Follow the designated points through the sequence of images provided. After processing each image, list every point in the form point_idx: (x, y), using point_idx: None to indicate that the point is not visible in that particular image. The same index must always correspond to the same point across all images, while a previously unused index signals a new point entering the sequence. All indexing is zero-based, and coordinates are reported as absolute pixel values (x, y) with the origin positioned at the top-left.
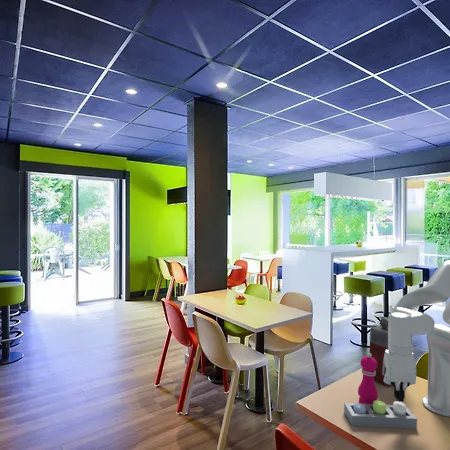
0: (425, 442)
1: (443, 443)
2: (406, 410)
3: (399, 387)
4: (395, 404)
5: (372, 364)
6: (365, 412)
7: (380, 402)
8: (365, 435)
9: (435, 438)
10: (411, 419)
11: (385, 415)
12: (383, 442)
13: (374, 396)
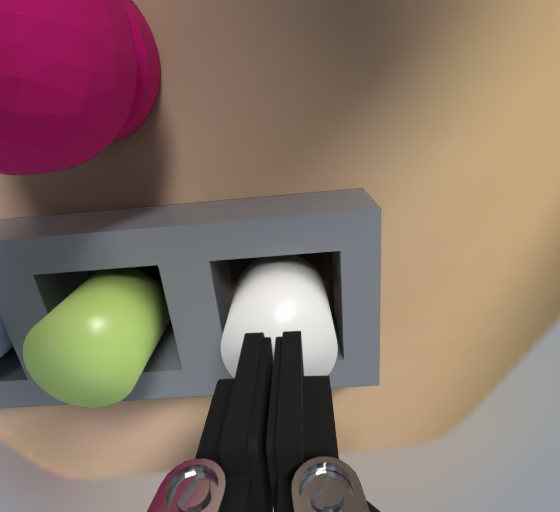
0: (348, 436)
1: (443, 432)
2: (352, 289)
3: (279, 491)
4: (235, 357)
5: None
6: (5, 345)
7: (91, 346)
8: (42, 426)
9: (426, 402)
10: (335, 382)
11: (146, 380)
12: (127, 459)
13: (67, 163)
